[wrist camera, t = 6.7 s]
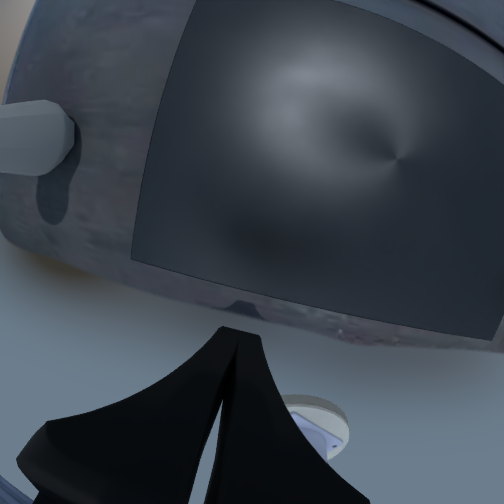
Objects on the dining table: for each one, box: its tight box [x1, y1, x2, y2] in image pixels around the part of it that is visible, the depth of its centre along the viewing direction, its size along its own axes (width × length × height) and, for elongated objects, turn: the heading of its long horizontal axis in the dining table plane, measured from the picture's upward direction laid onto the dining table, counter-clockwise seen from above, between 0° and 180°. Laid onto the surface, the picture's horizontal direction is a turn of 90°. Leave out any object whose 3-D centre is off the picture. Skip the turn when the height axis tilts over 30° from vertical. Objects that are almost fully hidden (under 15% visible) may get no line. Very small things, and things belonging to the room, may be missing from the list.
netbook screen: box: [131, 0, 504, 341], centre depth 14 cm, size 18×26×1 cm
